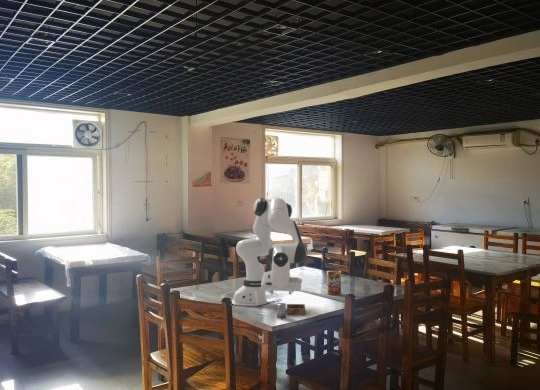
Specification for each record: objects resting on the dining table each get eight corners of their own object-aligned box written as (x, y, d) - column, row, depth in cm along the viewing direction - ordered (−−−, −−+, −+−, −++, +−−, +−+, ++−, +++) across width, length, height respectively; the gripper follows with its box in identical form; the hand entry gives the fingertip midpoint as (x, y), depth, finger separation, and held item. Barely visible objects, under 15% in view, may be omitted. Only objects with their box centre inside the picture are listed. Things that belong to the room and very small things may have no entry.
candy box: (327, 294, 306) (327, 271, 306) (326, 293, 310) (326, 270, 310) (341, 294, 306) (341, 271, 306) (339, 293, 311) (339, 270, 311)
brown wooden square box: (286, 314, 257) (286, 308, 257) (286, 310, 267) (286, 304, 267) (305, 315, 257) (305, 308, 257) (304, 310, 267) (304, 304, 267)
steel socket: (276, 319, 249) (276, 305, 249) (276, 316, 254) (277, 302, 254) (285, 319, 249) (285, 305, 249) (285, 316, 254) (285, 302, 254)
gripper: (301, 272, 233) (301, 288, 242) (260, 272, 233) (261, 287, 243) (302, 283, 228) (301, 298, 238) (260, 283, 229) (261, 298, 239)
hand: (281, 293), depth 241 cm, fingers open, 8 cm apart
